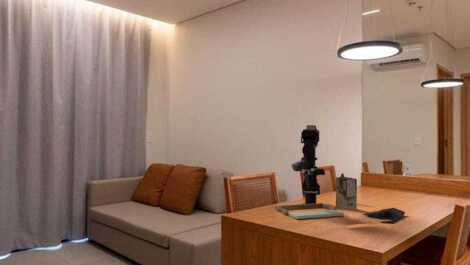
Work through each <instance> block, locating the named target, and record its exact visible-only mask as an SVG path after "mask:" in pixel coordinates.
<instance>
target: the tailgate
mask: <svg viewBox="0 0 470 265" xmlns="http://www.w3.org/2000/svg"><path fill="white" fill-rule="evenodd" d="M288 216H289V217H291V218H294V219H296V220H300V219H325V218H329V217H341V216H343V217H344V216H345V212H343V211H339V210H337V209H336V210H326V209H323V210H313V211H311V210H309V211H308V210H307V211H295V212H288Z"/></svg>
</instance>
